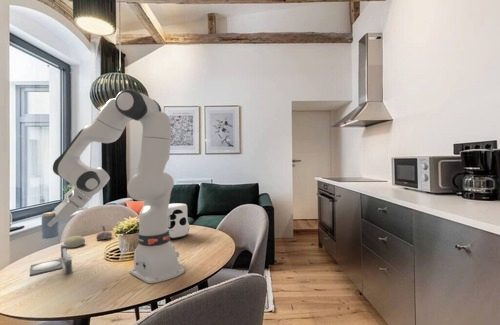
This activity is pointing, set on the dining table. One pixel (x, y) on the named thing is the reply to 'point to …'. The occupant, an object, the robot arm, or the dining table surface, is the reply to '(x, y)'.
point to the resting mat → (45, 267)
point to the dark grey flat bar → (66, 260)
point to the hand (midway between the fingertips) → (48, 224)
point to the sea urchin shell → (74, 241)
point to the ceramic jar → (46, 230)
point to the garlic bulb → (104, 234)
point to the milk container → (177, 220)
